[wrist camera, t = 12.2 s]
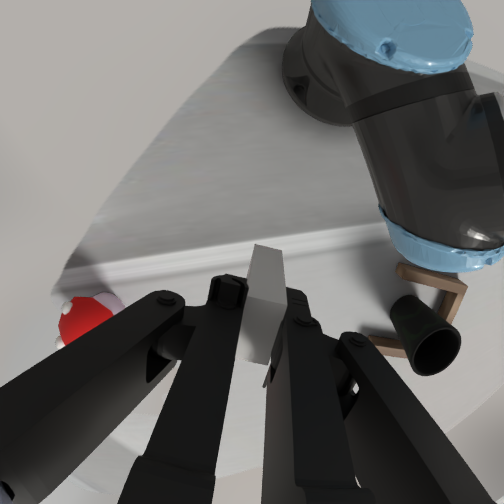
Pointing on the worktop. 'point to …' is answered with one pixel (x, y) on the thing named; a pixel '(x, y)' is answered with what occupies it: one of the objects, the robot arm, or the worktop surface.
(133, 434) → the worktop surface
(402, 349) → the wooden u-shaped bracket
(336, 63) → the robot arm
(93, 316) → the mushroom
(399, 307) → the cup
